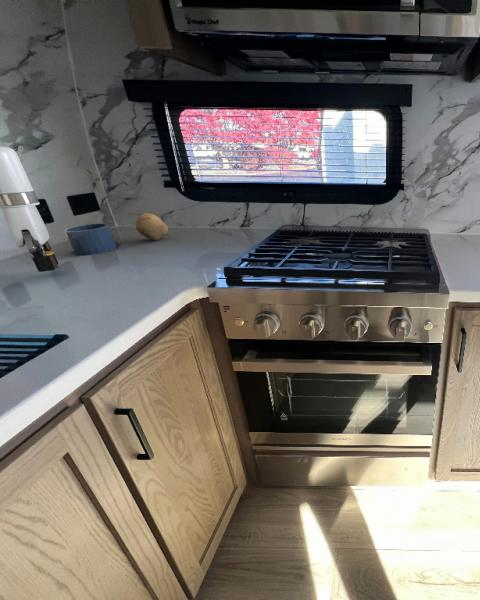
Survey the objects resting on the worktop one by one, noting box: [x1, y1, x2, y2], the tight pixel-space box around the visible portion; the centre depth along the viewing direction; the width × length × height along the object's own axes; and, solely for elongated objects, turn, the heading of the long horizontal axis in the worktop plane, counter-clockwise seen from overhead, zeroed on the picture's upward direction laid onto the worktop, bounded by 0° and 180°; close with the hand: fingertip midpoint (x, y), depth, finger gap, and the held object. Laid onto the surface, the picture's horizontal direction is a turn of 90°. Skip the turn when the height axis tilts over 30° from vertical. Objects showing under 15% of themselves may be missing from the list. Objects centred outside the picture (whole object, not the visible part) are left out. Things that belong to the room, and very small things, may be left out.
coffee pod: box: [46, 250, 59, 270], centre depth 90 cm, size 4×4×4 cm
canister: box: [63, 222, 118, 257], centre depth 112 cm, size 11×11×8 cm
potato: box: [135, 212, 169, 241], centre depth 122 cm, size 9×9×10 cm
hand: (48, 267), depth 91 cm, fingers closed on coffee pod, 4 cm apart
